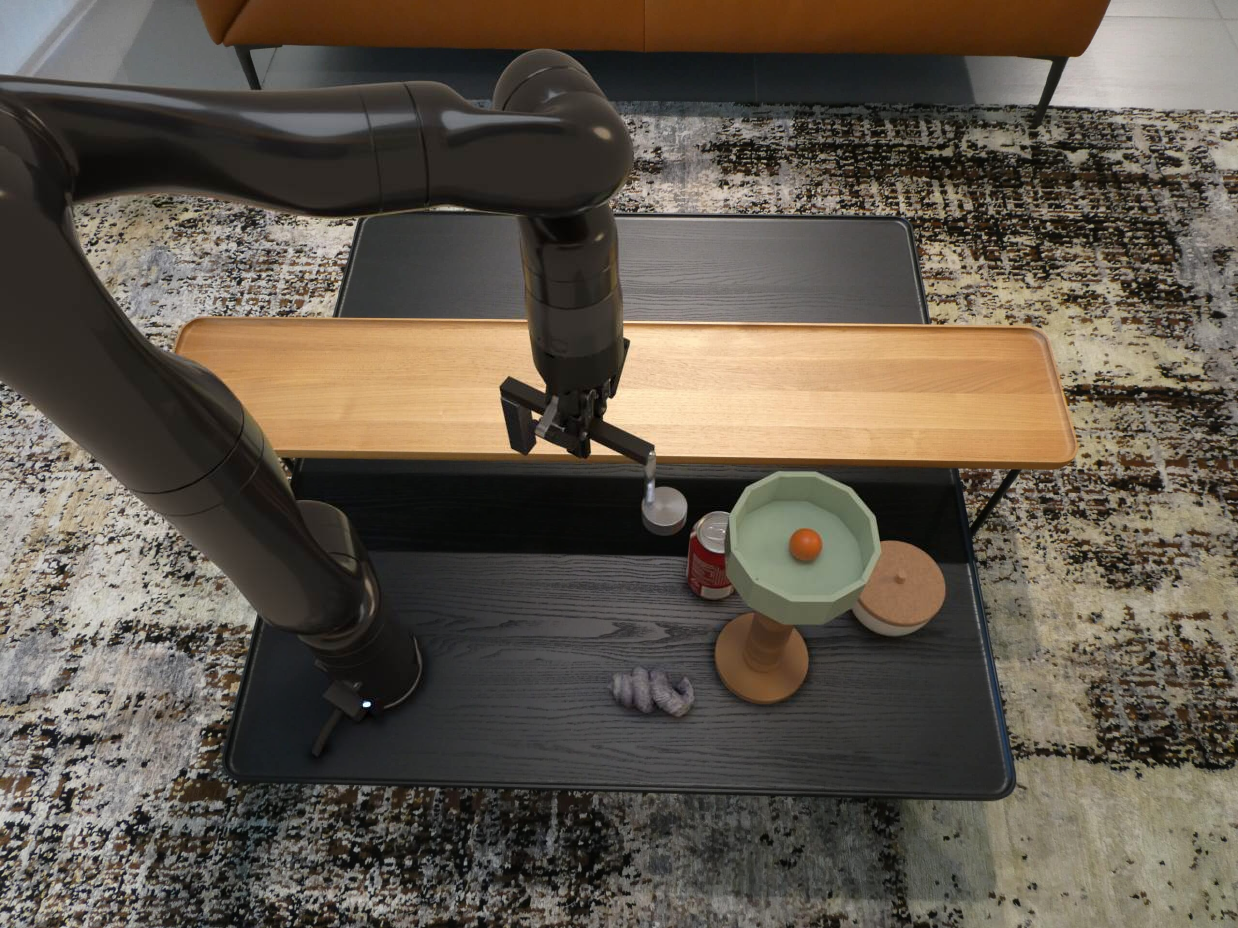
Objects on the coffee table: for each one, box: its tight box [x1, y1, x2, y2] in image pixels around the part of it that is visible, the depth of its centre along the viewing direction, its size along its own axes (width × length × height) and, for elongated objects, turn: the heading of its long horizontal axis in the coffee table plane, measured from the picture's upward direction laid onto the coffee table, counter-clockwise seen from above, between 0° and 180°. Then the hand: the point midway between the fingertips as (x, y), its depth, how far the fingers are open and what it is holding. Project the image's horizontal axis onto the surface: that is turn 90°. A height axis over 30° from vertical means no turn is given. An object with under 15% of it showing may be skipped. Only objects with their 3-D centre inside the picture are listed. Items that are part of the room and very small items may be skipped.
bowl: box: [724, 470, 882, 626], centre depth 77 cm, size 13×13×5 cm
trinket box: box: [850, 540, 946, 637], centre depth 100 cm, size 11×11×9 cm
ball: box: [789, 528, 822, 561], centre depth 78 cm, size 3×3×3 cm
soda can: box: [685, 510, 737, 601], centre depth 102 cm, size 7×7×12 cm
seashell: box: [607, 664, 695, 718], centre depth 96 cm, size 5×5×10 cm
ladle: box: [498, 375, 688, 537], centre depth 81 cm, size 20×4×10 cm, turn 59°
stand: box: [714, 610, 810, 705], centre depth 90 cm, size 11×11×26 cm
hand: (585, 444), depth 80 cm, fingers closed on ladle
